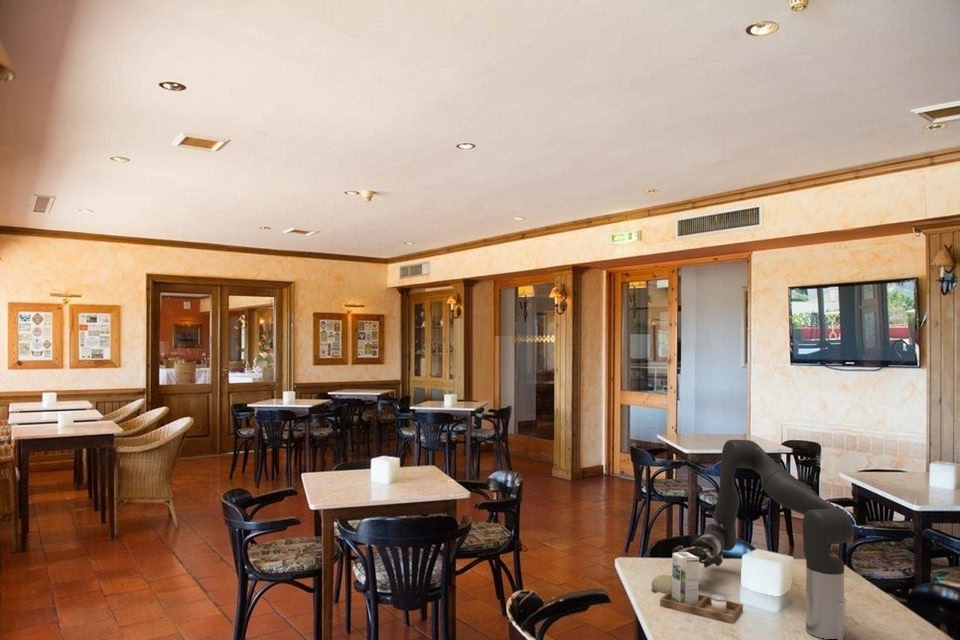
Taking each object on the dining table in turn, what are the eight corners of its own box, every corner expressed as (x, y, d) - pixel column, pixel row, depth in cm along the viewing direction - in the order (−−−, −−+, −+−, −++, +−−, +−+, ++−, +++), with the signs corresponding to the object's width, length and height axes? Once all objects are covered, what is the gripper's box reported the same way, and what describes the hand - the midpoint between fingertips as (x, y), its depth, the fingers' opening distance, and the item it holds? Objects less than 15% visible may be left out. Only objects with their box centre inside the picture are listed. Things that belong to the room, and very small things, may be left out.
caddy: (742, 614, 194) (742, 604, 194) (732, 627, 185) (732, 616, 185) (672, 598, 206) (672, 588, 206) (659, 609, 196) (660, 599, 197)
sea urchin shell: (686, 592, 205) (667, 572, 207) (667, 609, 206) (649, 589, 208) (684, 582, 214) (666, 563, 216) (665, 598, 215) (647, 579, 217)
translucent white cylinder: (728, 612, 193) (728, 596, 193) (724, 616, 189) (724, 600, 190) (713, 608, 195) (713, 593, 195) (709, 613, 192) (709, 597, 192)
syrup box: (670, 601, 200) (671, 552, 200) (687, 599, 202) (688, 551, 202) (682, 609, 194) (682, 558, 195) (699, 607, 196) (699, 556, 197)
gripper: (684, 532, 221) (668, 544, 208) (729, 540, 213) (715, 553, 200) (684, 555, 221) (667, 568, 208) (728, 564, 213) (714, 578, 200)
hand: (691, 561), depth 204 cm, fingers open, 8 cm apart
